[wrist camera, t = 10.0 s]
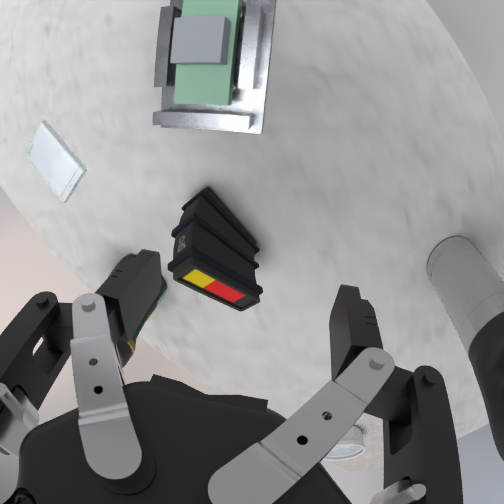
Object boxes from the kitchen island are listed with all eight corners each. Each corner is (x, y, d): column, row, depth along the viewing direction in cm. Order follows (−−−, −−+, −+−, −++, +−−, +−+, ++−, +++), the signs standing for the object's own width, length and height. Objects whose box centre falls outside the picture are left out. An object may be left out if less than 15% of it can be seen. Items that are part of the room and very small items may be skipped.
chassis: (175, -18, 25) (159, -30, 21) (278, -20, 24) (275, -36, 20) (163, 126, 36) (144, 133, 31) (261, 133, 35) (256, 140, 31)
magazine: (190, 169, 37) (192, 261, 28) (253, 219, 46) (273, 305, 36) (171, 186, 39) (167, 279, 29) (235, 232, 47) (249, 317, 38)
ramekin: (353, 441, 73) (354, 461, 67) (311, 440, 74) (310, 460, 68) (370, 422, 66) (373, 443, 60) (324, 421, 67) (324, 443, 61)
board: (190, -7, 24) (175, -19, 19) (243, -8, 23) (235, -22, 19) (180, 102, 31) (163, 105, 26) (231, 104, 30) (221, 107, 26)
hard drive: (24, 156, 39) (62, 204, 43) (41, 121, 36) (83, 171, 39) (30, 154, 40) (68, 200, 44) (47, 119, 37) (89, 168, 41)
